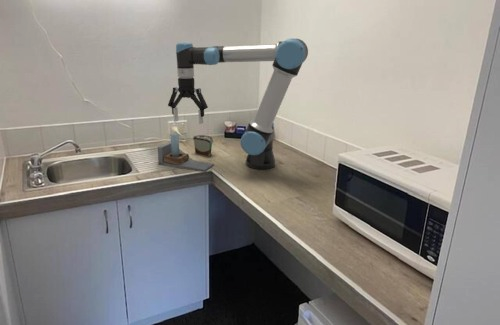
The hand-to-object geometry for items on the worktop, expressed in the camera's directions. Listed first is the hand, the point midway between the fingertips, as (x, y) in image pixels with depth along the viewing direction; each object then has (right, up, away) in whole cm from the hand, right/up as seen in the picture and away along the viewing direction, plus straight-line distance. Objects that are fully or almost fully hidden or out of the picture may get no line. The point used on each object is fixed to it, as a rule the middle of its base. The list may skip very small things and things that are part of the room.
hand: (188, 122), depth 182 cm
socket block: (-8, -19, +10) cm, 22 cm away
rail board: (-3, -21, +8) cm, 22 cm away
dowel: (-8, -19, +10) cm, 23 cm away
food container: (+5, -15, +25) cm, 30 cm away
